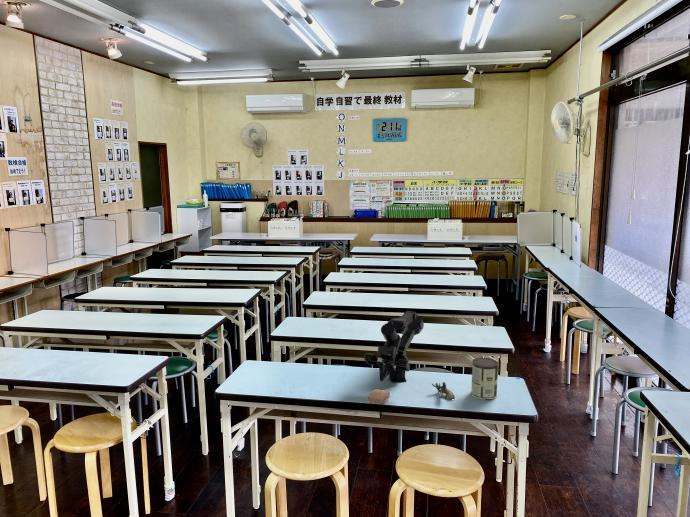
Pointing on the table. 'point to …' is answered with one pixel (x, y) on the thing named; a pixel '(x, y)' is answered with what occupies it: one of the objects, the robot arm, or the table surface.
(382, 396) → the glazed tile
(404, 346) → the robot arm
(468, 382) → the table surface
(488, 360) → the coffee can
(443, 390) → the antlered deer figurine
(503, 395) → the table surface
